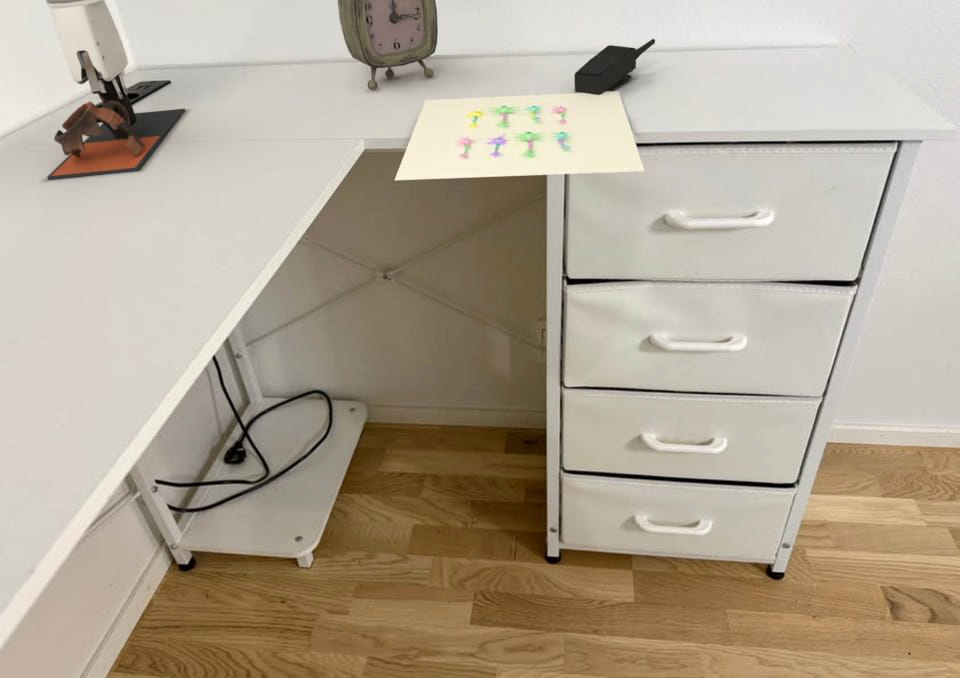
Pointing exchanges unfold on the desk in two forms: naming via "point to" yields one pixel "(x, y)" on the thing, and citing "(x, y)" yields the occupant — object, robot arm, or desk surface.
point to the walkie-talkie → (608, 69)
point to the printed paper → (521, 137)
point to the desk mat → (119, 147)
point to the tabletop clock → (389, 33)
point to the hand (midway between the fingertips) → (125, 124)
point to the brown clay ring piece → (97, 127)
